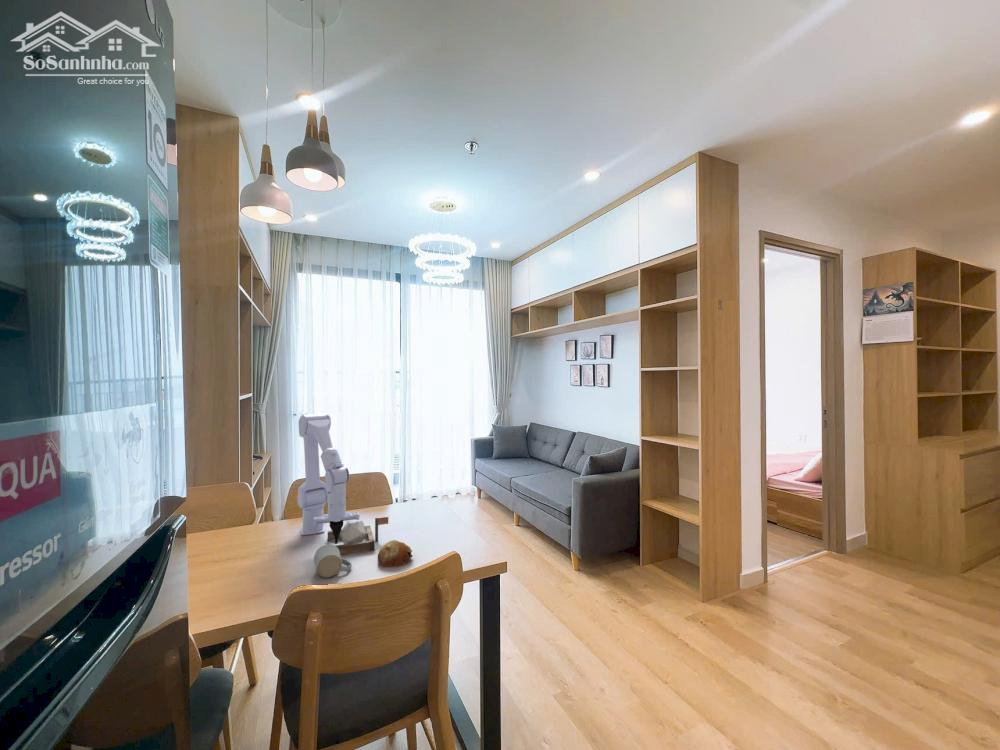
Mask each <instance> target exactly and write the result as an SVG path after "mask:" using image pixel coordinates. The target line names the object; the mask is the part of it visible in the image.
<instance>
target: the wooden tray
mask: <svg viewBox="0 0 1000 750" xmlns="http://www.w3.org/2000/svg"><path fill="white" fill-rule="evenodd" d="M374 523H375V524H374V527H375V528H374V534H373V531H372V528H371V527H372V526H371V525H364V526H365V528H366V530H367V533H368V534H367V535H366V537H365V538H366V540H365V541H364V540H363V541H362V542H356V543H350V544H344V543H342V544H335V546H336V547H337V548H338V549H339V551H340V556H349V555H353V554H354V555H356V554H360V553H368V552H373V551H375V550H376V549H375V548H376V547H375V544H376V542H379V526H382V525H388V524H389V516H382V517H375V518H374ZM342 529H343V528H342ZM342 529H341V530H342ZM340 532H341V531H340ZM374 538H375V539H374ZM338 540H342V538H341V536H340V534H339V536H338ZM331 541H335V537H334V534H333V532H332V530H327V542H331Z"/></svg>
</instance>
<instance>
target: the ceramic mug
mask: <svg viewBox="0 0 1000 750" xmlns="http://www.w3.org/2000/svg"><path fill="white" fill-rule="evenodd" d="M313 562H314V565H315V570H316V573H317V574H318V575H319V576H320V577H321V578H324V579H330V578H333V577H335V576H336V575H337V574H338V573H339V572H349V571H351V569H352V567H353V564H352V562H351V561H349V560H347V559H345V558H342V557H341V556H340V551H339V549H338V548H337V547H336V545H335V544H332V543H331V544H330V543H329V544H323V545H322V546H320V547H319V548H318V549H316V551H315V553H314V556H313Z"/></svg>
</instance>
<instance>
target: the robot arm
mask: <svg viewBox="0 0 1000 750" xmlns="http://www.w3.org/2000/svg"><path fill="white" fill-rule="evenodd" d="M331 426H332V419H331V416H330V414H329V413H317V414H316V413H313V414H301V416H300V417H299V419H298V434H299V435H298V436H299V437H300V438H303V449H304V450H303V451H304V466H305V467H304V469H305V481H304V482H303V483H302V484H301V485H299V487H297V496H296V503H297V506H298V507H299V508H300V509H302V526H301V529H300V530H301V531H300V536H307V535H315V534H322V533H326V532H325V531H326V529H325V528H326V525H325V524H327V523H328V524H329V528H330V529H331V530H330V531H332V532H333V534H334V537H335V540H334V545H339V539H338V536H339V533H340V531H341V529H343V527H344V522H347V521H360V512H347V510H346V509H347V507H346V505H347V498H346V497H347V493H346V491H347V483H349V481H350V480H349V479H350V471H349V469H348V467H347V466H346V465H345V464H344V463H342V459H341V457H340V454H339V451H338V449H335V448H334V446H333V443H332V440H331V436H330V429H331ZM319 448H320V450H321V452H322V453H321V454H319ZM319 455H320V456H319ZM320 458H321V463H322V464H323V468H324V471H325V474H324V481H325V482H324V481H322V480H321V474H320V473H321V472H320V471H321V470H320ZM326 504H327V514H326V515H324V509H325V508H324V507H326Z"/></svg>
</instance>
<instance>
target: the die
mask: <svg viewBox="0 0 1000 750" xmlns="http://www.w3.org/2000/svg"><path fill="white" fill-rule="evenodd" d="M365 526H366V525H365V524H364V521H363V520H347V521H346V523H345V525H343V527H342V530H341V532H340V533H339V534H340V536H341V538H342V539H341V541H342V542H343V543H342V544H350V543H356V542H363V541H364V540H365V538H367V537H366V535H367V534H368V533H367V530H366V528H365Z"/></svg>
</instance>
